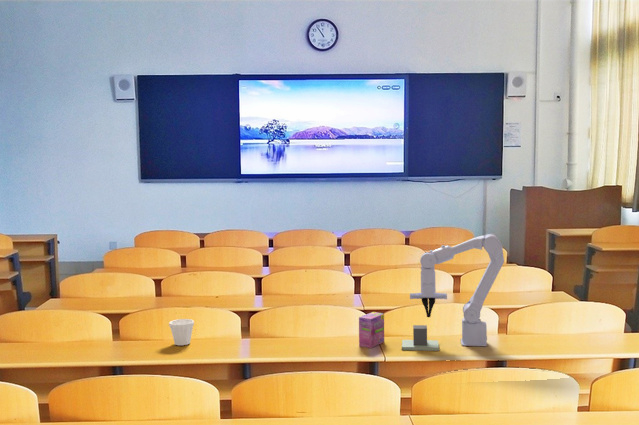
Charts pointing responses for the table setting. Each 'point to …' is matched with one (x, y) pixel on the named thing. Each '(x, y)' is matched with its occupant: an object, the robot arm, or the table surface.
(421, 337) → the cap
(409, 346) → the board
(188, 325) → the cup
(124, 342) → the table surface
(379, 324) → the box
